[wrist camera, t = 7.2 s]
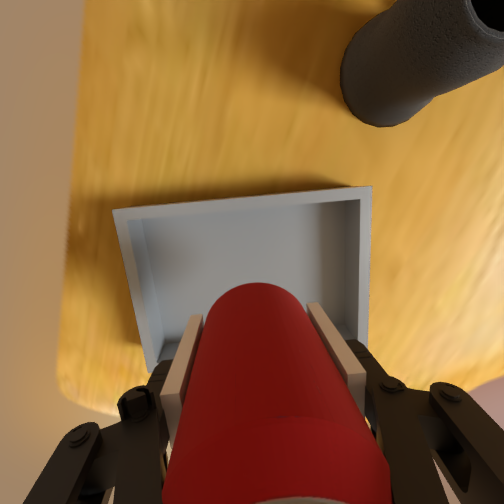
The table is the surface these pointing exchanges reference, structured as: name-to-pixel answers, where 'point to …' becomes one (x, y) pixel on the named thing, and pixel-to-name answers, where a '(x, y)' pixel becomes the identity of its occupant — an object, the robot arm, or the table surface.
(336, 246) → the bin
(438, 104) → the table surface
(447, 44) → the mug
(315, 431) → the beverage can
